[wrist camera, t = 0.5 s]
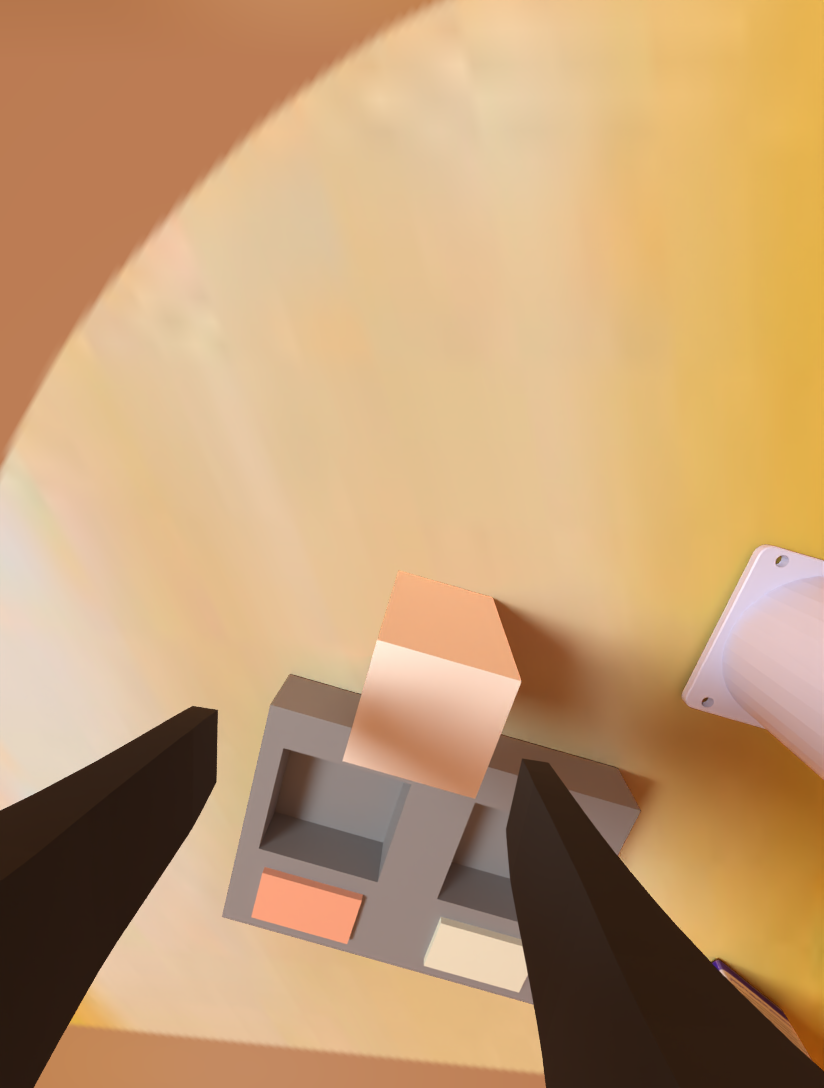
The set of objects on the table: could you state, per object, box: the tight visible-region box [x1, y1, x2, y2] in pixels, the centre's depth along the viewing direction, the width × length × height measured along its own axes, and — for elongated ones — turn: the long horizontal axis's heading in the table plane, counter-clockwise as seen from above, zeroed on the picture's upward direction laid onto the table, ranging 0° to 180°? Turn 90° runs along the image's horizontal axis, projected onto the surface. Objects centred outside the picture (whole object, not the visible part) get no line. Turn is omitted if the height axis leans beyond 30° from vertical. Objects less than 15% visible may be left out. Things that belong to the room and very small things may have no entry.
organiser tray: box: [222, 674, 641, 1005], centre depth 21 cm, size 17×13×3 cm
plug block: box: [343, 570, 522, 799], centre depth 17 cm, size 4×4×7 cm
